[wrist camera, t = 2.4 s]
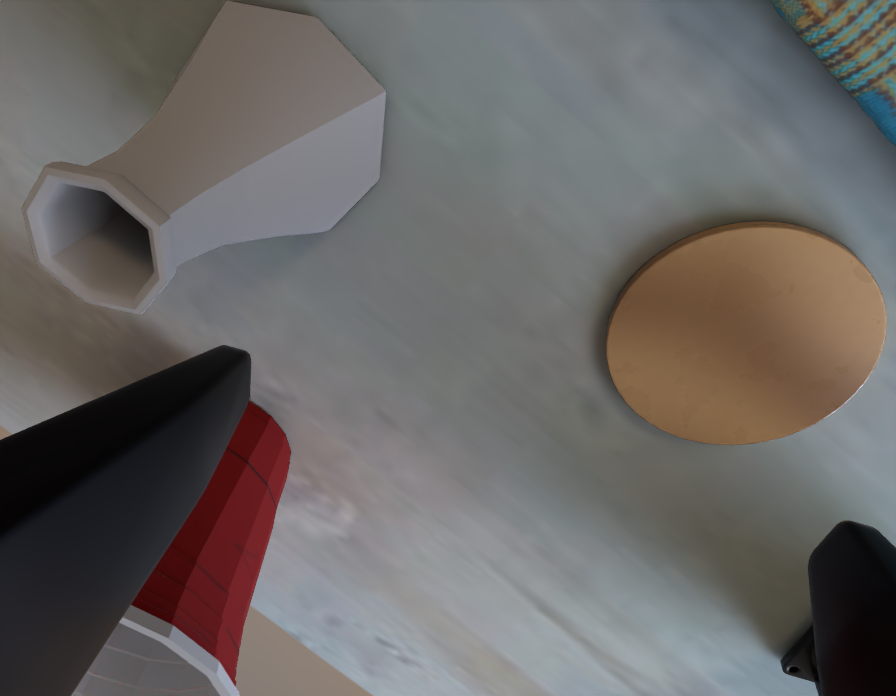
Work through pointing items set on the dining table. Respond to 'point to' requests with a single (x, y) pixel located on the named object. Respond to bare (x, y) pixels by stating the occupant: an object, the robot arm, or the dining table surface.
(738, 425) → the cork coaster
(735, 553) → the dining table surface
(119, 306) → the flask
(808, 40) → the dish towel
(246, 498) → the plastic cup
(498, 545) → the dining table surface
